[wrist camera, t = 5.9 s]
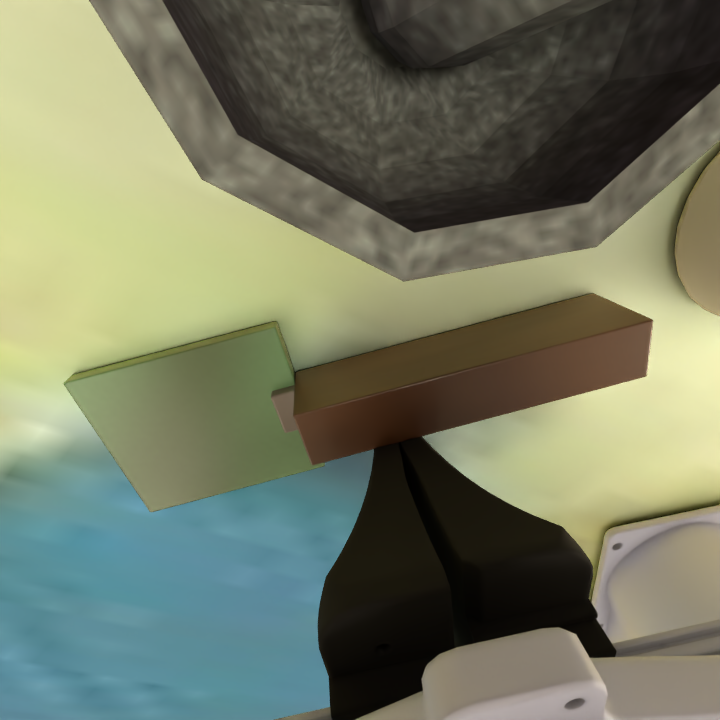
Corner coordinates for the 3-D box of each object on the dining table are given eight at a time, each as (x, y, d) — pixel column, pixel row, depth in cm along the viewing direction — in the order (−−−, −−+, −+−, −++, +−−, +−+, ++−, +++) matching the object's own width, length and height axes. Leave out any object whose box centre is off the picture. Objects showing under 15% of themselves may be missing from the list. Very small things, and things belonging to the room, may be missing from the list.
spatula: (595, 236, 13) (662, 252, 11) (589, 385, 16) (641, 426, 13) (71, 374, 13) (17, 423, 11) (155, 501, 16) (127, 564, 13)
